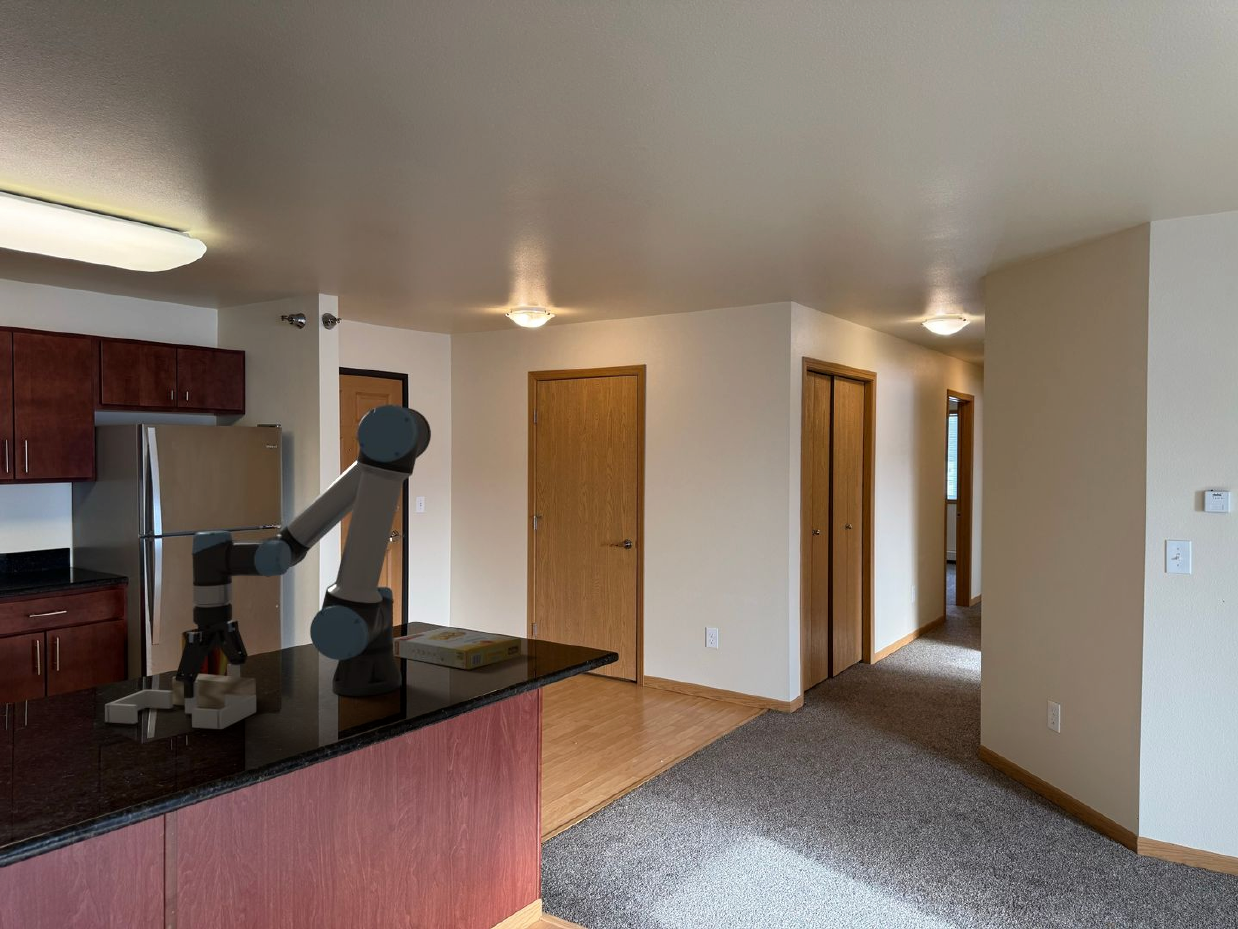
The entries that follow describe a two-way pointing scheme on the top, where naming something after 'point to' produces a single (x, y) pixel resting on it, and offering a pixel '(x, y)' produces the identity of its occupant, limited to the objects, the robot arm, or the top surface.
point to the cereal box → (457, 647)
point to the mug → (211, 659)
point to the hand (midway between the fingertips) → (213, 703)
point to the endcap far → (137, 705)
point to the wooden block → (214, 689)
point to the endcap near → (225, 712)
